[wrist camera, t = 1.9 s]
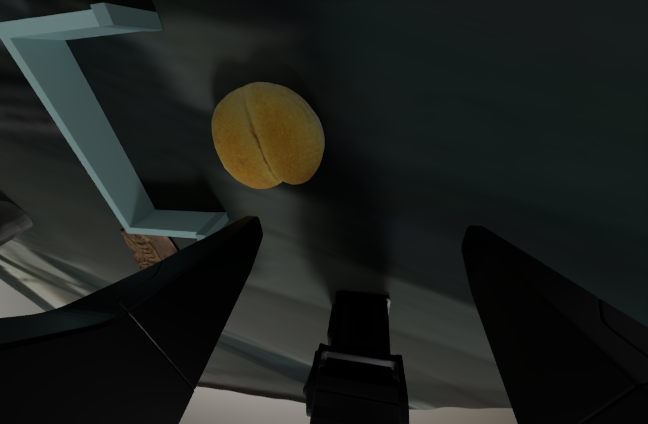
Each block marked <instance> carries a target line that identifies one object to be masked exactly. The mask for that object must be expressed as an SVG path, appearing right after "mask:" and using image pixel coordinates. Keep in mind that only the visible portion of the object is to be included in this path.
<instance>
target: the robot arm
mask: <svg viewBox="0 0 648 424" xmlns="http://www.w3.org/2000/svg"><path fill="white" fill-rule="evenodd" d="M262 237H263V231H262V228H261V224H260V220H259V218H258V217H257V216H246V217H244V218H242V219H240V220H238V221H236V222H234V223H232V224H230V225H228V226H226V227H225V228H223V229H221V230H219V231H217V232H215V233H213V234H211V235H209V236H207V237H205V238H203V239H201V240H199V241H197V242H196V243H194V244H192V245H190V246H188V247H186V248H184V249H182V250H180V251H178V252H176V253H174V254H172V255H170V256H168V257H166V258H165V259H164V260H161V261H159V262H157V263H155V264H153V265H151V266H149V267H147V268H145V269H143V270H141V271H139V272H137V273H135V274H133V275H131V276H129V277H126V278H124V279H122V280H120V281H118V282H116V283H114V284H111V285H109V286H107V287H105V288H103V289H100V290H98V291H96V292H94V293H92V294H90V295H87V296H85V297H83V298H81V299H79V300H76V301H74V302H72V303H70V304H67V305H65V306H63V307H60V308H57V309H54V310H51V311H47V312H43V313H38V314H33V315H25V316H16V317H6V318H0V424H179V422H180V420H181V418H182V416H183V414H184V411H185V409H186V407H187V405H188V403H189V401H190V399H191V397H192V394H193V393H194V389H195V388H196V386H197V384H198V382H199V379H200V377H201V375H202V373H203V371H204V369H205V367H206V365H207V363H208V360H209V358H210V356H211V354H212V352H213V350H214V348H215V346H216V344H217V341H218V339H219V337H220V335H221V333H222V331H223V329H224V327H225V325H226V322H227V320H228V318H229V316H230V314H231V312H232V310H233V308H234V306H235V303H236V301H237V299H238V297H239V295H240V293H241V291H242V289H243V287H244V284H245V282H246V280H247V278H248V276H249V274H250V272H251V269H252V267H253V264H254V261H255V258H256V255H257V252H258V249H259V246H260V244H261V241H262ZM462 254H463V259H464V263H465V268H466V273H467V277H468V282H469V286H470V290H471V293H472V296H473V299H474V302H475V305H476V307H477V310H478V313H479V316H480V319H481V321H482V324H483V327H484V330H485V333H486V336H487V338H488V341H489V344H490V347H491V350H492V352H493V355H494V358H495V361H496V364H497V367H498V369H499V372H500V375H501V378H502V381H503V383H504V386H505V389H506V392H507V395H508V398H509V400H510V403H511V406H512V409H513V412H514V414H515V417H516V420H517V423H518V424H648V327H646V326H644V325H643V324H641V323H639V322H638V321H636V320H634V319H633V318H631V317H629V316H628V315H626V314H624V313H623V312H621V311H619V310H618V309H616V308H615V307H613V306H611V305H610V304H608V303H607V302H605V301H603V300H601V299H599V300H598V297H597V296H595V295H593V294H592V293H590V292H589V291H587V290H585V289H584V288H582V287H580V286H579V285H577V284H576V283H574V282H572V281H571V280H569V279H567V278H566V277H564V276H563V275H561V274H559V273H558V272H556V271H554V270H553V269H551V268H550V267H548V266H546V265H545V264H543V263H541V262H540V261H538V260H537V259H535V258H533V257H532V256H530V255H529V254H527V253H525V252H524V251H522V250H520V249H519V248H517V247H516V246H514V245H512V244H511V243H509V242H507V241H506V240H504V239H503V238H501V237H499V236H498V235H496V234H494V233H493V232H491V231H490V230H488V229H486V228H485V227H483V226H468V228H467V229H466V233H465V236H464V239H463V242H462ZM389 308H390V298H389V297H388V296H381V295H371V294H362V293H352V292H343V291H338V292H336V304H333V305H332V310H331V316H330V321H329V327H328V333H327V336H328V345H325V344H322V343H320V345H319V349H318V350H317V351H315V356H314V361H313V365H312V368H311V371H310V373H309V376H308V378H307V381H306V383H305V385H304V388H303V394H304V396H305V398H306V413H307V416H310V417H311V419H310V424H409V405H408V395H407V387H406V381H405V374H404V367H403V361H402V355H397V354H396V355H391V354H390V337H389Z"/></svg>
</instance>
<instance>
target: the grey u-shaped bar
mask: <svg viewBox="0 0 648 424" xmlns="http://www.w3.org/2000/svg"><path fill="white" fill-rule="evenodd" d="M90 6H91V8H92V9H91V10H84V11H77V12H70V13H63V14H56V15H50V16H43V17H36V18H29V19H22V20H15V21H8V22H1V23H0V38H1V40H2V41H3V43H4V44H5V46H6V48H7V49H8V51H9V52H10V54H11V55H12V57H13V58H14V60H15V61H16V63H17V64H18V66H19V67H20V69H21V71H22V72H23V74H24V75H25V77H26V78H27V80H28V81H29V83H30V84H31V86H32V87H33V89H34V90H35V92H36V94H37V95H38V97H39V98H40V100H41V101H42V103H43V104H44V106H45V107H46V109H47V110H48V112H49V113H50V115H51V117H52V118H53V120H54V121H55V123H56V124H57V126H58V127H59V129H60V130H61V132H62V133H63V135H64V137H65V138H66V140H67V141H68V143H69V144H70V146H71V147H72V149H73V150H74V152H75V153H76V155H77V156H78V158H79V160H80V161H81V163H82V164H83V166H84V167H85V169H86V170H87V172H88V173H89V175H90V176H91V178H92V179H93V181H94V183H95V184H96V186H97V187H98V189H99V190H100V192H101V193H102V195H103V196H104V198H105V199H106V201H107V203H108V204H109V206H110V207H111V209H112V210H113V212H114V213H115V215H116V216H117V218H118V219H119V221H120V222H121V224H122V226H123V227H124V229H125V230H126V232H127V233H130V234H144V235H158V236H172V237H186V238H197V240H198V241H199V240H201V239H203V238H205V237H207V236H209V235H211V234H213V233H215V232H217V231H219V230H220V229H221V228H222V227H223V226H224V225H225V224H226V223H227V221H228V220H229V219H228V216H227V213H226V212H217V213H214V212H194V211H173V210H155V208H154V206H153V204H152V202H151V200H150V198H149V196H148V195H147V193H146V191H145V189H144V187H143V185H142V183H141V181H140V180H139V178H138V176H137V174H136V172H135V170H134V168H133V166H132V165H131V163H130V161H129V159H128V157H127V155H126V153H125V152H124V150H123V148H122V146H121V144H120V142H119V140H118V138H117V137H116V135H115V133H114V131H113V129H112V127H111V125H110V123H109V122H108V120H107V118H106V116H105V114H104V112H103V110H102V108H101V107H100V105H99V103H98V101H97V99H96V97H95V95H94V93H93V92H92V90H91V88H90V86H89V84H88V82H87V80H86V79H85V77H84V75H83V73H82V71H81V69H80V67H79V65H78V64H77V62H76V60H75V58H74V56H73V54H72V52H71V50H70V49H69V47H68V45H67V43H66V41H65V40H70V39H79V38H87V37H96V36H104V35H113V34H121V33H130V32H138V31H149V32H154V31H162V30H163V28H162V25H161V22H160V19H159V16H158V13H157V12H151V11H146V10H141V9H135V8H130V7H125V6H119V5H114V4H109V3H98V4H91V5H90Z"/></svg>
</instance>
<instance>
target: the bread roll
mask: <svg viewBox="0 0 648 424" xmlns="http://www.w3.org/2000/svg"><path fill="white" fill-rule="evenodd" d="M211 123H212V135H213V140H214V145H215V149H216V150H217V153H218V155H219V157H220V160H221V161H222V163H223V166H224V167H225V169H226V170H227V171H228V172H229V173H230V174H231V175H232V176H233V177H234V178H235V179H237V180H238V181H239V182H241V183H243V184H245V185H247V186H249V187H252V188H257V189H267V188H270V187H274V186H276V185H278V184H279V183H281V182H282V181H284V182H286V183H289V184H301V183H304V182H306V181H308V180H309V179H310V178H311V177H312V176H313V175H314V173H315V172H316V170H317V169H318V167H319V165H320V162H321V160H322V156H323V152H324V146H325V137H324V132H323V128H322V125H321V122H320V120H319V118H318V116H317V115H316V113H315V112H314V111H313V110H312V108H311V107H310V105H309V104H308V103H307V102H306V101H305V100H304V99H303V98H302V97H301V96H299V95H298V94H297V93H295V92H294V91H292V90H290V89H289V88H287V87H284V86H281V85H279V84H273V83H269V82H254V83H250V84H248V85H245V86H243V87H241V88H238V89H236V90H234V91H232V92H230V93H229V94H228V95H227V96H226V97H225V98H223V99H222V100H221V101H220V103H219V104H218V105H217V107H216V108H215V111H214V114H213V117H212V122H211Z"/></svg>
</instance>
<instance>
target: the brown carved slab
mask: <svg viewBox="0 0 648 424" xmlns="http://www.w3.org/2000/svg"><path fill="white" fill-rule="evenodd" d="M121 234H122V235H123V236H124V238H125V240H126V243H127V245H128V247H129V249H130V250H131V251H134V259H135V261H136V263H137V264H139V265H140V266H142V267H141V270H143V269H145V268H147V267H149V266H151V265H153V264H155V263H157V262H159V261H161V260H164V259H165V258H166V257H168V256H170V255H172V254H174V253H176V252H178V251H177V250H176V248H175V247H174V245H173V243H172V242H171V241H170V239H169V238H168V237H167V236H158V235H144V234H130V233H127V232H126V230H125V231H122V232H121ZM141 270H140V271H141Z"/></svg>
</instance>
